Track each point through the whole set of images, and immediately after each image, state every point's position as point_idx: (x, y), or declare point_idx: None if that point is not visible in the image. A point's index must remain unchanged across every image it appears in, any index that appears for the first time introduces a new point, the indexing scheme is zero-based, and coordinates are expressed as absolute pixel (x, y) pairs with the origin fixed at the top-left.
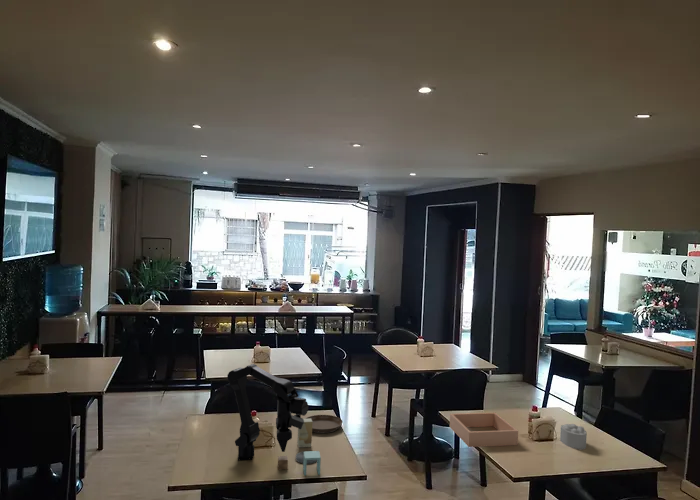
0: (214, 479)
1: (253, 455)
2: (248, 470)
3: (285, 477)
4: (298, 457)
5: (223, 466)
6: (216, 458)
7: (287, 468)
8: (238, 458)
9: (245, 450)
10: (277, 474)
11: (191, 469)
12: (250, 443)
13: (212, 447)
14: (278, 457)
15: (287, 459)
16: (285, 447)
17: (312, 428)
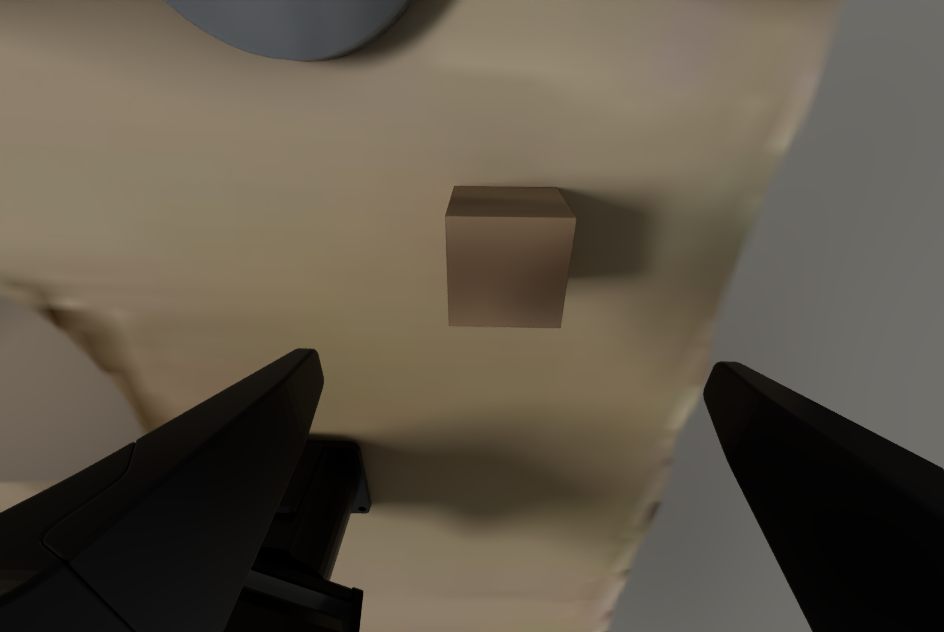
0: (587, 576)
1: (321, 453)
2: (517, 462)
3: (735, 221)
4: (322, 15)
5: (444, 552)
6: (346, 571)
7: (557, 190)
8: (357, 510)
9: (339, 543)
10: (643, 289)
11: (463, 627)
12: (276, 566)
13: None
14: (483, 323)
15: (560, 221)
16: (846, 424)
17: None
